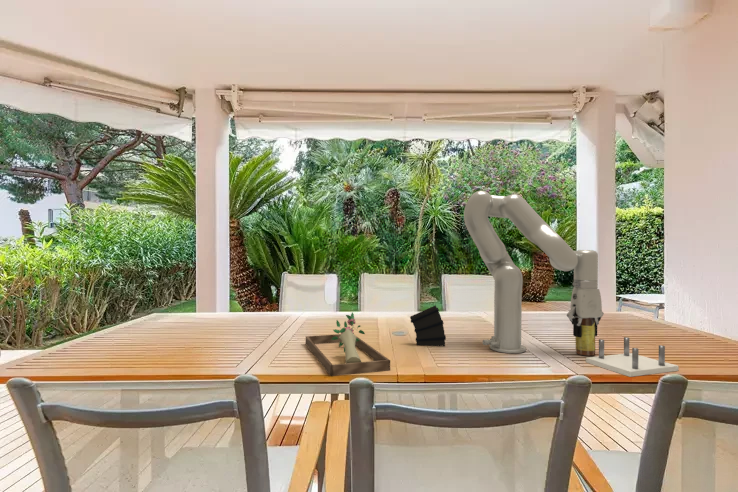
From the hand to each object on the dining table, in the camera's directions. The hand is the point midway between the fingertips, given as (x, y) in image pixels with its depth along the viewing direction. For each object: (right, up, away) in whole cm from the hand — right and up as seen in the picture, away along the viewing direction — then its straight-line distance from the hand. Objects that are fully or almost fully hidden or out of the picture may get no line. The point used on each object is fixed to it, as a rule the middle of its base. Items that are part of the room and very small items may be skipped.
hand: (585, 335), depth 148 cm
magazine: (-54, -7, +12) cm, 56 cm away
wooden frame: (-85, -6, -4) cm, 86 cm away
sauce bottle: (0, -7, 0) cm, 7 cm away
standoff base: (+7, -7, -15) cm, 17 cm away
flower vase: (-83, -6, -5) cm, 83 cm away
